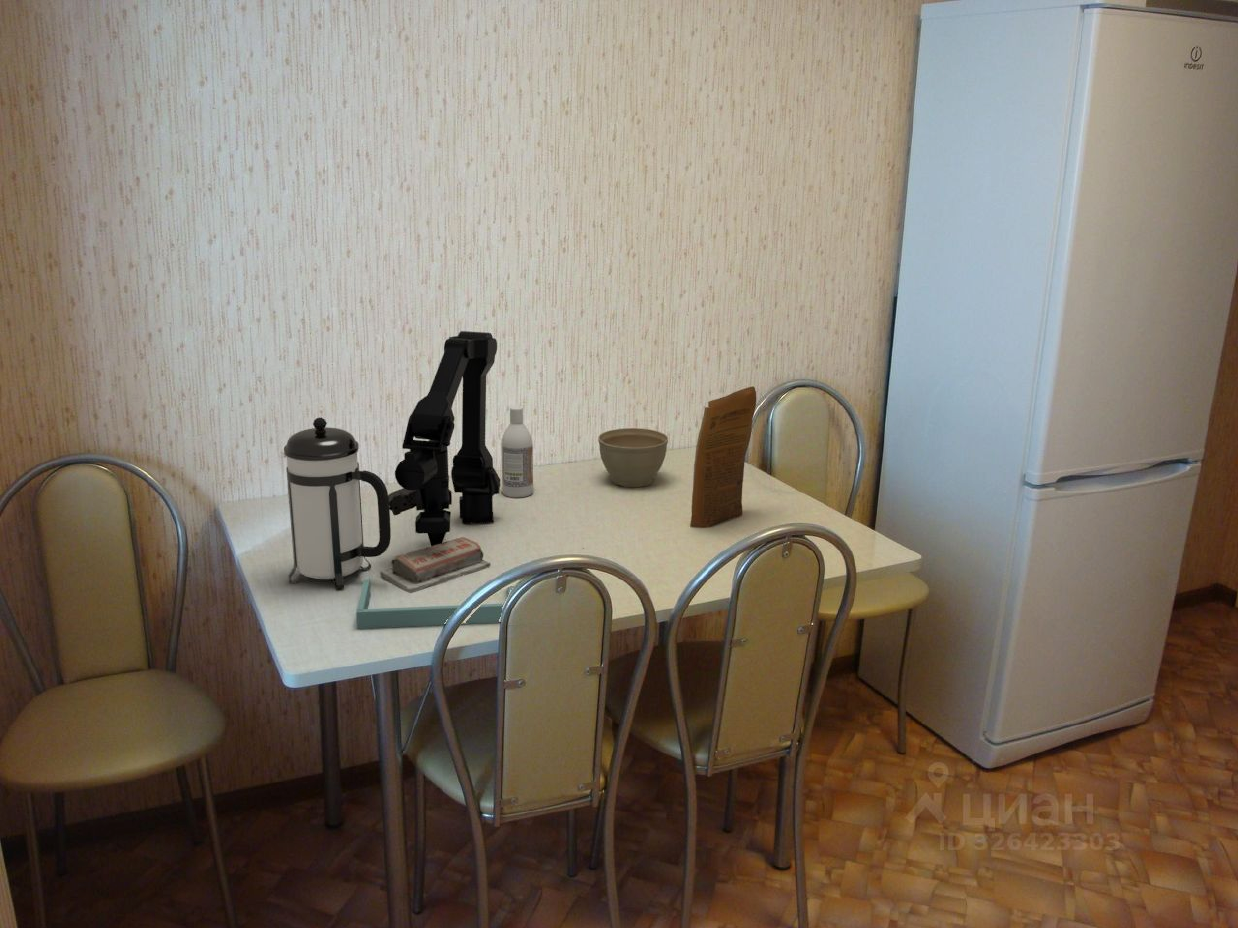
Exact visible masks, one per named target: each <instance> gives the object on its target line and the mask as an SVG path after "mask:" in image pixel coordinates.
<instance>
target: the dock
mask: <svg viewBox="0 0 1238 928" xmlns="http://www.w3.org/2000/svg"><path fill="white" fill-rule="evenodd" d="M362 582H363V583H362V587H361V590H360V595H359V599H358V603H357V608H356V612H355V613H356V614H355V615H356V628H357V629H358V630H360V629H361V630H362V629H363V630H364V629H365V630H366V629H382V628H384V629H387V628H406V627H409V628H411V627H429V626H431V627H432V626H433V627H434V626H445V625H444V623H445V622H446V620H447V619H449V617H450V616H451V615H452V614H453V613H454V611H455V610H456V609H457V608H458V607H459V606H460V605H442V606H441V605H437V606H436V605H434V606H414V607H413V606H411V607H393V608H392V607H387V608H369V604H370V600H371V597H372V595H371V594H372V593H371V580H370V579H369V578H367V579H365V578H364V579H363V581H362ZM512 588H514V589H515V585H514V586H510V587H508V588H507V589H506V591H507V595H508V594H509V592H510V590H512ZM503 605H504V603H485V604H484V603H483V604H482V605H481V606H480V607H479V608H478V609H477V610H476V611H475V612H474V613H473V614H472V615H471V617H470V618H469V619H468V620H467V621H466V623H478V625H480V624H495V623H496V624H498V622H499V619H500V617H501V613H502V607H503Z"/></svg>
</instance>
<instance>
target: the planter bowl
mask: <svg viewBox="0 0 1238 928" xmlns="http://www.w3.org/2000/svg"><path fill="white" fill-rule="evenodd" d="M597 440H598V444H599V445H598V446H599V454H600V458H601V461H602V464H603V465H604V467H605V469H606V471H607V472H608V474H609V475H610V476H611V480H612V482H613V483H614V484H615V485H618V486H621V487H626V488H640V487H641V488H642V487H646V486H649V485H651V484H652V483H653V482H654V479H655V476H656V475H657V473H659V471H660V470H661V467H662V466H663V463H664V461H665V458H666V454H667V448H668V447H667V446H668V443H669V437H668V435H667V434H665V433H664V432H661V431H658V430H654V429H649V428H643V427H642V428H638V427H626V428H624V427H623V428H615V429H610V430H607V431H604V432H602V433H600V434H599V435H598V436H597Z"/></svg>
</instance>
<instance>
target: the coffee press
mask: <svg viewBox="0 0 1238 928" xmlns="http://www.w3.org/2000/svg"><path fill="white" fill-rule="evenodd" d="M327 424H328V422H327V421H326V419H325V418H324V417H317V418H315V419H314V421H313V423H312V425H313V428H307V429H304V430H300V431H298V432H296V433H293V435H291V436H290V437H289V438H288V440H287V442H286V444H285V446H284V448H283V458H286V464H287V467H286V478H287V490H288V505H289V518H290V520H289V521H290V528H291V529H290V530H291V531H290V532H291V543H292V555H293V567H292V570H291V571H290V572H289V574H288V581H289V582H290V583H291V584H297V583H298V582H299V581H300V580H301V579H302V578H304V577H307V578H311V579H315V580H316V579H317V580H331V579H332V580H333V584H334V587H335V590H337V591H338V590H342V589H343V590H344V589H345V581H344V577H346V576H349V575H352V574H353V573H356V571H358V570H360V569H362V570H363V571H366V572H367V570H368V571H370V570H371V568H372V565H371V563H370V561H369V560H367V558H375V557H380V556H381V555H382V554H383V553H385V552H386V551H387V550H388V548H389V546H390V543H391V536H392V535H391V530H392V529H391V510H390V509H389V498H388V495H389V493H388V490H387V489H388V488H387V487H386V484H385V482H384V481H383V479H382V478H381V477H379V476H378V475H377V474H375V473H373V472H372V471H368V470H366V469H365V470H360V463H359V461H358V451H359V450H360V446H359V442H358V441H356V439H355V437H354V435H353V434H352V433H350V432H349V431H347V430H345V429H342V428H337V427H329V426H327ZM360 481H361V482H366V483H368V484H369V485H371V486H372V488H373V489H374V491H375V493H376V498H377V511H378V528H379V529H378V530H379V531H378V532H379V540H378V543H377V545H376V546H364V533H363V532H364V531H363V516H362V515H363V514H362V499H361V497H362V496H361V485H360V484H361V482H360ZM364 560H365V561H366V562H367V564H368V565H367V566H366V567H364V566H362V565H363V562H364ZM296 571H298V572H299V574H298V575H297V576H296V577H295V578H294V579H292V577H293V576H294V574H295V573H296Z"/></svg>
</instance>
